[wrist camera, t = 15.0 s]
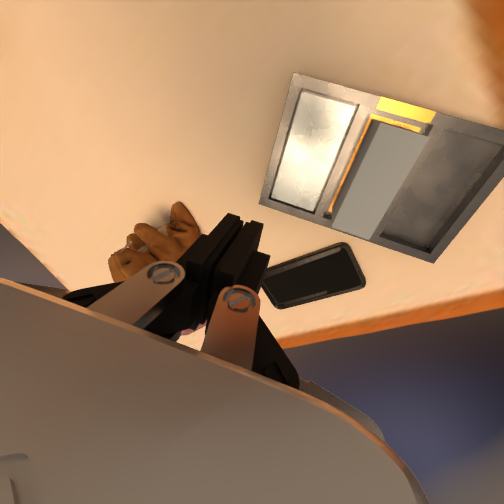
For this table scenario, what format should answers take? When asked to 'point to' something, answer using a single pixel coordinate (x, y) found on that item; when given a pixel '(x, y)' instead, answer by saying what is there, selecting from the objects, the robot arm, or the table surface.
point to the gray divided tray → (414, 186)
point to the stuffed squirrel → (154, 244)
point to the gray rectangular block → (375, 177)
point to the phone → (313, 277)
